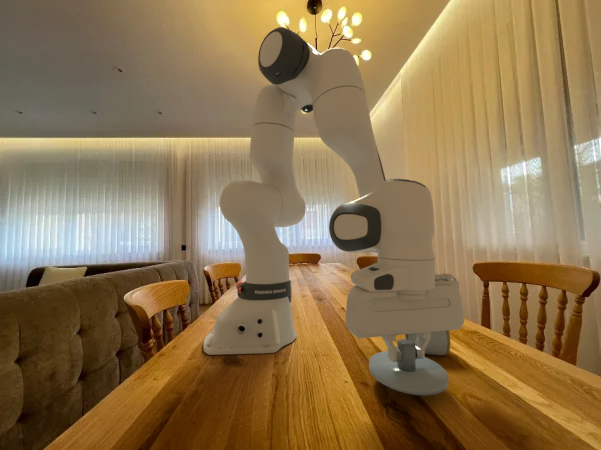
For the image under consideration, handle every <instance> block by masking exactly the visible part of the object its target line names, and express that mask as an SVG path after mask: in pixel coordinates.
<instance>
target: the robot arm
mask: <svg viewBox="0 0 601 450" xmlns="http://www.w3.org/2000/svg"><path fill="white" fill-rule="evenodd" d="M257 58H258V59H257V61H258V62H257V63H258V68H259V71H260V73H261V74H262V75H263V77H264V78H265V79H266V80H267V81H268V82H270V83H271V84H267V85H265V86H263V87H262V88H261V89H260V90H259V92H258V94H257V98H256V101H255V105H254V110H253V115H252V122H251V123H252V124H251V130H250V131H251V133H250V144H249V155H248V156H249V159H250V160H249V161H250V162H251V164H252V165H253V166H254V167H255V168H256V170H257V171H258V174H259V177H260V180H261V182H259V181H253V180H234V181H231V182H229V183H227V184H226V186H225V187H223V190H222V192H221V194H220V198H219V208H220V212H221V214H222V215H223V217H224V218H225V220H226V221H228V223H230V224H231V225H232V227H233V228H234V229H235V231H236V232H237V234H238V235H239V238H240V242H241V244H242V246H243V247H242V248H243V250H244V262H245V265H244V266H245V281H244V282H243V281H238V282H237V283H236V286H235V287H236V290H237V298H236V299H234V300H233V301H231V303H229V304H228V305H227V306H226V307H225V308H223V309H222V310H221V311H220V312H219V314H217V317H216V319H215V321H214V326H213V330H211V331H210V332H209V333H208V334H207V335H206V336H205V338H204V340H203V347H202V349H203V352H204V353H206V354H207V355H215V356H216V355H247V354H274V353H277V352H278V351H280V349H281V348H283V347H284V346H286V345H289V344H290V343H293V342H294V340H296V338H297V332H296V328H295V324H294V319H293V314H292V313H293V312H292V305H291V302H292V297H293V295H292V294H293V293H292V289H293V288H292V281H291V279H290V252H289V250H288V248H287V246H286V245H285V244H284V243H282V242H281V240H280V238H279V236H278V233H277V230H276V228H286V227H292V226H295V225H297V224H300V222H302V221H303V219H304V217H305V213H306V208H307V207H306V206H307V205H306V201H305V199H304V198H303V197H302V194H301V193H300V191H299V189H298V185H297V182H296V177H295V173H294V162H293V161H294V160H293V159H294V147H295V146H294V142H295V134H296V133H295V131H296V120H297V116H298V113H299V111H300V110H301V111H302V112H303V113H305V114H309V113H311V112H313V120H314V125H315V128H316V131H317V133H318V135H319V138H320V139H321V141H322V142H323V143H324V144H325V145H326V147H328V148H329V149H330V150H332V152H334V153H335V154H336V155H338V156H339V157H340V158H341V159H342V160H343V161H344V163H346V165H348V167H349V169H350V170H351V172H352V174H353V176H354V178H355V179H354V180H355V183H356V188H357V191H358V195H359V198H357V199H355V200H353V201H350V202H345V203H342V204H341V205H339V206H338V207H336V208H335V210H334V211H333V212H332V214H331V216H330V220H329V224H328V231H329V236H330V239H331V242H332V243H333V244H334V246H335V247H336V248H338V249H339V250H341V251H342V252H347V253H352V254H358V253H359V254H360V253H377V262H374V263H372V264H371V265H368V266H366V267H362V268H360V269H357V270H355V271H353V272H351V274H350V282H351V284H353V285H354V286H352V288H350V289H349V291H348V294H347V300H346V306H345V308H346V309H345V325H346V328H347V330H348V331H349V333H351V335H353V336H354V337H356V338H357V339H367V338H379V337H380V338H381V339H382V340H383V342H384V344H385V345H386V347H387V351H388V357H389V359H390V360H391V361H392V362H398V361H402V357H401V356H402V351H401V350H400V349H398V348H397V345H395V343H394V342H397V336H401V335H405V334H414V333H416V334H417V335H418V336H417V338H416V341H415V347H416V359H424V358H425V357H426V356H425V355H426V354H425V348H426V346H427V344H428V342H429V341H430V339H431V332H436V331H447V330H449V331H457V330H461V329H462V327H463V326H464V324H465V317H464V316H465V314H464V306H463V300H462V295H461V293H460V282H459V281H458V279H457V278H456V277H455V276H453V275H452V274H451V273H442V274H439V273H436V263H435V262H436V261H435V260H436V257H435V253H434V250H433V237H434V235H435V213H434V204H433V197H432V194H431V191H430V189H429V188H428V187H427V186H426V185H424V184H423V183H421V182H419V181H416V180H411V179H406V178H390V179H386V177H385V172H384V167H383V164H382V161H381V156H380V153H379V150H378V146H377V142H376V139H375V134H374V131H373V125H372V122H371V117H370V116H371V115H370V110H369V104H368V100H367V99H368V98H367V93H366V89H365V85H364V84H365V83H364V82H363V81H364V79H363V78H362V75H361V71H360V69H359V66H358V63H357V61H356V59H355V57H354V55H353V54H352V53H351V52H350V51H349V50H347V49H345V48H342V47H332V48H329V49H326V50H325V51H322V53H320V52H319V50H317V48H314V47H313V46H312V45H310V44H309V43H308V42H307V41H305V40H304V39H303V38H302V37H301V36H300V35H299V34H298V33H297V32H295V31H293V30H290V29H289V28H287V27H283V26H281V27H280V26H278V27H277V28H274V29H273V30H270V31H269V32H268V33H267V34H266V35H265V37H264V39H263V40H262V42H261V44H260V47H259V51H258V56H257Z"/></svg>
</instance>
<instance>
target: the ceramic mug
mask: <svg viewBox="0 0 601 450" xmlns="http://www.w3.org/2000/svg"><path fill="white" fill-rule="evenodd" d="M404 335H405V338H404V339H405V340H410V341H412V342H414V343H415V341H416V338H417V336H418V335H417V334H416V333H414V334H404ZM450 350H451V334H450V330H447V331H436V332H431V339H430V341H429V342H428V344H427V346H426V348H425V355H433V356H447V355H448V354H449V353H450Z"/></svg>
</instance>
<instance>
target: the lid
mask: <svg viewBox="0 0 601 450" xmlns="http://www.w3.org/2000/svg"><path fill="white" fill-rule="evenodd" d="M396 347H397V348H398V349H400V350H401V351H402V356H401V357H402V361H398V362H392V361H391V360H390V359H389V357H388V350H384V351H380V352H379V351H378V352H377V353H374V354H373V355H372V356H371V357H370V358H369V360H368V369H369V372H370V374H371V375H372V377H373V378H374V379H375V380H376V381H377V382H378V383H381V384H382V385H383V386H386V388H387V387H388V388H390V389H392V390H394V391H397V392H399V393H400V392H401V393H404V394H409V395H414V396H433V395H434V396H435V395H438V394H440V393H443V392H444V391H446V390H447V389H448V387H449V374H448V372H447V370H446V369H445V368H443V366H441V364H439V363H438V362H436V361H434V360H433V359H430V358H428V357H426V356H425V358H424V359H416V347H415V343H414V342H412V341H410V340H405V338H403V339H398V340H396Z"/></svg>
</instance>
